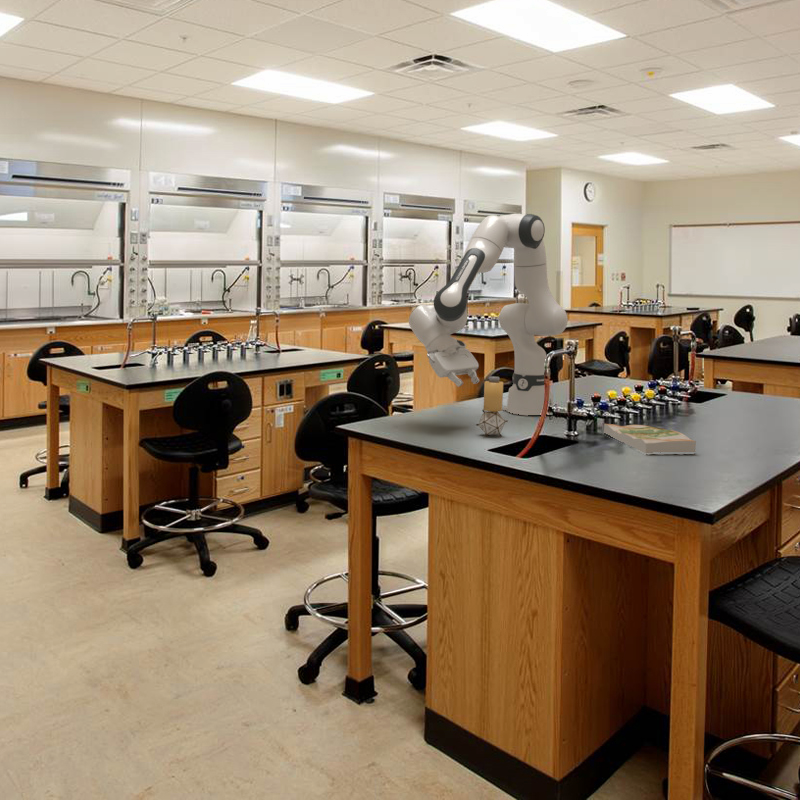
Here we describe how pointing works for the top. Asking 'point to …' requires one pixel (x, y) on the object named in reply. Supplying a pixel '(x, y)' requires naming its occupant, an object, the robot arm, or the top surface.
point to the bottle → (493, 394)
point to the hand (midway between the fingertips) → (469, 383)
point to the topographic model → (651, 438)
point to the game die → (491, 423)
